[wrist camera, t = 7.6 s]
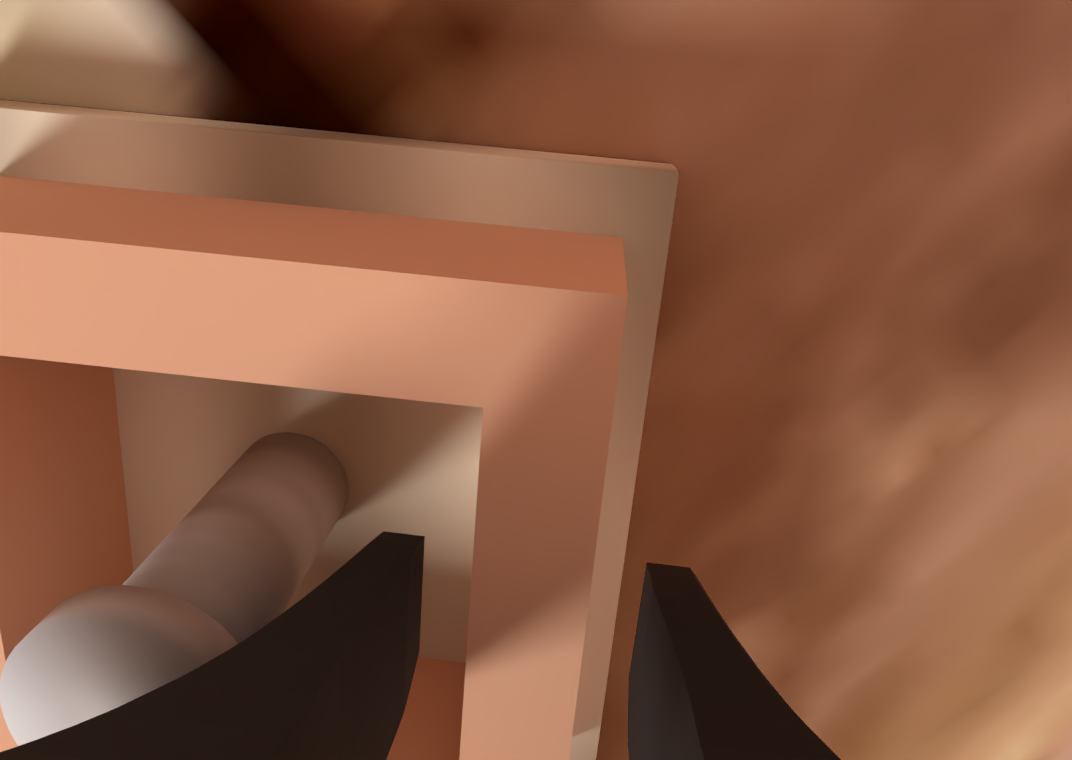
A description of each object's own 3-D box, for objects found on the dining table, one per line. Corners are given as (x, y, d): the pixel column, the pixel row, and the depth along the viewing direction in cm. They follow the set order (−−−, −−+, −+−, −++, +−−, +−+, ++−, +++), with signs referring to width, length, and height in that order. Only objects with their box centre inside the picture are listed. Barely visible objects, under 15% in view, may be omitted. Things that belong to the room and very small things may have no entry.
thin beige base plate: (82, 897, 21) (-152, 1272, 15) (-38, 96, 14) (-576, 125, 8) (562, 962, 21) (542, 1381, 14) (673, 164, 14) (734, 255, 7)
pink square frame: (67, 679, 17) (-60, 825, 14) (-3, 175, 14) (-197, 212, 10) (561, 740, 17) (550, 905, 13) (622, 237, 13) (628, 296, 10)
